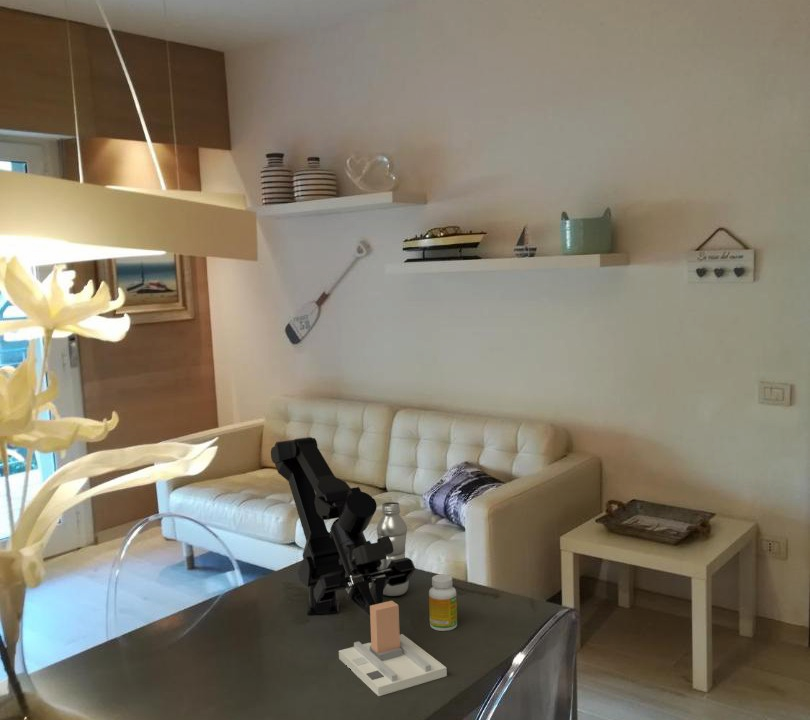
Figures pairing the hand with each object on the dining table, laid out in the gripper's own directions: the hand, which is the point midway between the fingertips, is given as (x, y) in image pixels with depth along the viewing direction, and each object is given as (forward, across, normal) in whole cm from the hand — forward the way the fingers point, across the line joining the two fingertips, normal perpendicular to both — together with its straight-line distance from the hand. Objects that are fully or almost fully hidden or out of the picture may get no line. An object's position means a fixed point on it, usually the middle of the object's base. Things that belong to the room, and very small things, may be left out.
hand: (380, 622), depth 145 cm
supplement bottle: (0, +17, +10) cm, 19 cm away
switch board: (+7, 0, +2) cm, 8 cm away
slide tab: (+5, 0, +3) cm, 6 cm away
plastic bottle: (-14, +16, +24) cm, 32 cm away
